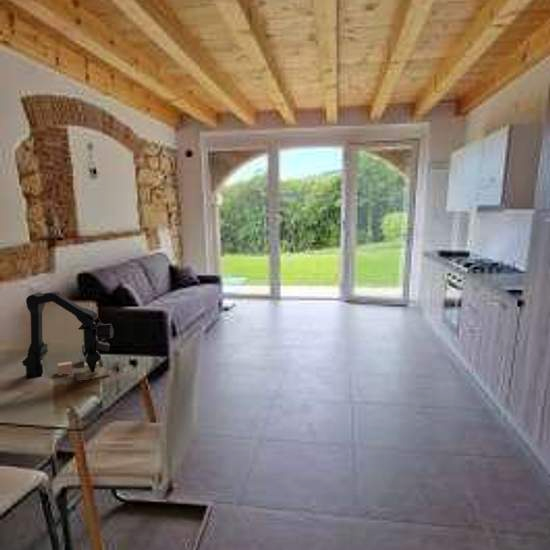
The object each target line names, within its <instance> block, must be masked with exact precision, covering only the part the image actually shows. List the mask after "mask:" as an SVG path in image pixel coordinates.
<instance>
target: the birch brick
mask: <svg viewBox="0 0 550 550" xmlns="http://www.w3.org/2000/svg"><path fill="white" fill-rule="evenodd" d="M99 365H100V363H99V361H97V362H96V366H95V371H94V372H91V370H90V368H89V366H88V364H87V363H83V367H84V369H83V370H84V371H85V375H86V376H87V375H93V374H99V368H100V366H99Z"/></svg>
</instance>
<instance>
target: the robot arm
mask: <svg viewBox="0 0 550 550" xmlns="http://www.w3.org/2000/svg"><path fill="white" fill-rule="evenodd" d="M25 299H26V300H25V303H26V307H27V308H26V309H28V311H29V313H30V345H29V347H28V350H27V355H26V356H27V357H25V359H23V360H22V361H21V364H22V365H23V367H25V378H26V379H31V378H37V377H42V376H43V374H44V369H43V368H44V367H43V363H42V360H43V359H44V357H46V355H47V353H48V351H49V350H48V343H45V342H44V341H43V310H44V308H45V305H46V303H51V302H53V303H54V304H56V305H57V306H59V307H60V308H63V309H64V310H66V311H67V312H69V313H71V314H72V315H73V316H74V317H75V318H76V319H77V320H78V321H79V322H80V323H81V325H80V326H79V327H78V330H80V331H83V332H82V333H83V336H82V337H83V339H82V342H83V345H81V350H82V352H83V355H84V357H85V359H86V362H87V364H88V366H89V368H90V370H91V372H94V371H95V366H96V362H97V361H98V362H99V361H100V360H101V359H102V358H101V357H102V356H101V354H100V353H99V351H104V352H109V350H110V347H111V345H110V343H109V342H108V341H107V340H106V339H113V337H114V333H115V329H114V327H113V324H112V323H103V322H102V320H101V319H100V318H99V317H98V314H97V312H95V311H93V310H91V309H89V308H85V307H82V306H80V305H78V304H77V303H75V302H74V301H72V300H70V299H69V298H67V297H66V296H64V295H62V294H61V293H60V292H59V291H53V292H52V291H51V292H45V293H43V292H35V293H32V294H30V295H28V296H27V297H26V298H25ZM98 338H99V339H101V340H98Z"/></svg>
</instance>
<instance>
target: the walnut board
mask: <svg viewBox="0 0 550 550" xmlns="http://www.w3.org/2000/svg"><path fill="white" fill-rule="evenodd" d="M74 375H76V376H75V378H77V379H76V382H77V381H80V380H86V381H88V380H87V379H92V380H96V379H95V378H97V379H102V378H107V377H110V376H111V375H110V373H109V371H108V369H107V367H106V366H99V374H93V375H87V376H86V375H85V371H84V369H82V370H76V371H74ZM80 382H81V381H80Z"/></svg>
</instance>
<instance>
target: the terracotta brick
mask: <svg viewBox="0 0 550 550" xmlns="http://www.w3.org/2000/svg"><path fill="white" fill-rule="evenodd" d="M57 373H58V374H57V375H58V376H59V375H61V376H63V375H62V374H67V375H69V374H68V373H72V374H73V363H72V361H64V362H57Z"/></svg>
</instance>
